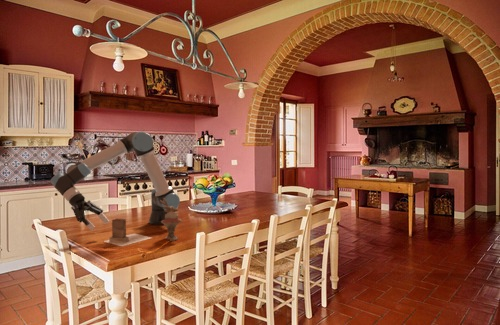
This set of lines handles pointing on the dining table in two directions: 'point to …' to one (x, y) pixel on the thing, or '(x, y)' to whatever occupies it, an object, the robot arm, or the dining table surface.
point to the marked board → (131, 239)
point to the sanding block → (119, 231)
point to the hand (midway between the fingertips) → (100, 225)
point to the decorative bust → (170, 220)
